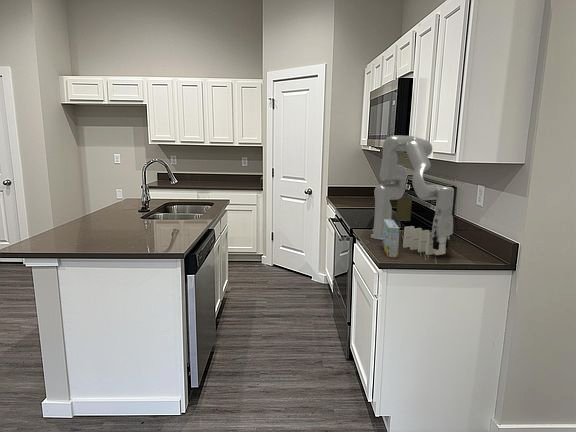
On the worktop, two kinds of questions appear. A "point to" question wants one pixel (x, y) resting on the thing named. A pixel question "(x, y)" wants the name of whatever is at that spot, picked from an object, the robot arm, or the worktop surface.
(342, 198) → the worktop surface
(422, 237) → the domino
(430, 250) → the domino
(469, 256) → the worktop surface
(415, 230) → the domino
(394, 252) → the snack box
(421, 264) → the worktop surface
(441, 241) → the domino
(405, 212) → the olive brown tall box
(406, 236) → the domino
